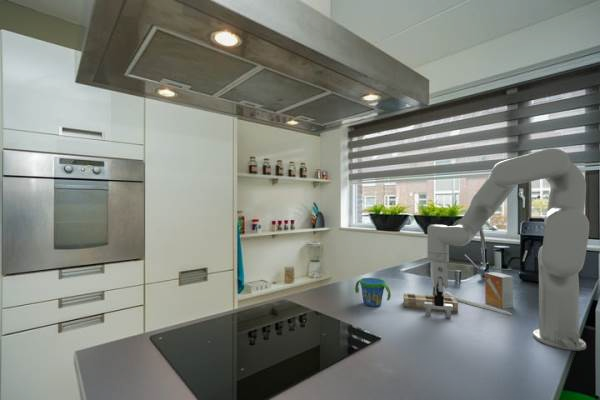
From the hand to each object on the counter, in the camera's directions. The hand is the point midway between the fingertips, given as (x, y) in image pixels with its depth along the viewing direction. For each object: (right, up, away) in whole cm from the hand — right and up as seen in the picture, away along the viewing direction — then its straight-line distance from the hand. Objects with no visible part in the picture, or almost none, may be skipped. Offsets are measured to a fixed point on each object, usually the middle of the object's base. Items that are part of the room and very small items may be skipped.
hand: (438, 303), depth 114 cm
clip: (0, -5, 0) cm, 5 cm away
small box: (+32, -5, +12) cm, 35 cm away
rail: (+1, -5, +9) cm, 10 cm away
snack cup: (-22, -5, +13) cm, 26 cm away
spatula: (+22, -5, +13) cm, 26 cm away
